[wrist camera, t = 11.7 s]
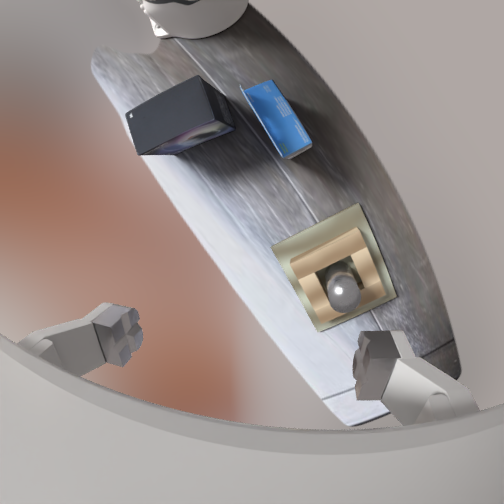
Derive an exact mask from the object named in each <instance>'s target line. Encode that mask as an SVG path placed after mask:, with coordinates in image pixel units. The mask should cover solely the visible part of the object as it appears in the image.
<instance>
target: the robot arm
mask: <svg viewBox="0 0 504 504" xmlns="http://www.w3.org/2000/svg"><path fill="white" fill-rule="evenodd" d="M137 1H138V2H139V3H140V4H141V5H140V7H141V9H142V10H143V11H144V13H145V14H146V15H147V16H148V17H150V20H151V24H152V27H153V31H154V34H155V35H156V36H157V37H158V38H168V37H173V36H176V37H182V38H188V39H196V38H203V37H207V36H211V35H214V34H216V33H219V32H221V31H223V30H225V29H226V28H228V27H230V26H231V25H232V24H234V23H235V22H236V21H237V20H238V19H239V18H240V17H241V16H242V14H243V13H244V11H245V10H246V7H247V4H248V0H137ZM160 27H161V28H160ZM139 319H140V318H139V314H138V311H137V310H136V309H135V308H131V307H126V306H121V305H117V304H112V303H102V304H101V305H100V306H98V307H97V308H96V309H94V310H93V311H92V312H90V313H89V314H88V315H87V316H85V317H84V318H82V319H76V320H73V321H70V322H66V323H63V324H59V325H56V326H52V327H48V328H44V329H41V330H37V331H33V332H32V333H30V334H29V335H28V336H26V337H25V338H24V339H22V340H21V341H20V342H19V343H17V344H16V343H15V342H13V341H11V340H10V339H8V338H7V337H5V336H3V335H2V334H0V504H504V404H501V405H498V406H495V407H491V408H488V409H485V410H481V411H480V410H479V408H478V406H477V404H476V402H475V400H474V398H473V396H472V394H471V392H470V390H469V388H467V387H466V386H464V385H463V384H461V383H459V382H458V381H456V380H455V379H453V378H452V377H450V376H449V375H447V374H445V373H444V372H442V371H441V370H439V369H438V368H436V367H434V366H433V365H431V364H430V363H428V362H427V361H425V360H423V359H422V358H420V357H416V356H415V354H414V352H413V350H412V348H411V346H410V344H409V342H408V340H407V338H406V336H405V334H404V332H403V331H402V330H390V331H361V332H360V334H359V338H358V345H359V349H357V350H356V351H355V354H354V359H353V377H354V378H355V379H356V380H357V381H356V384H355V391H356V397H357V400H381V402H382V403H383V404H384V405H385V406H386V408H387V409H388V410H389V411H390V412H391V413H392V414H393V415H394V416H395V417H396V418H397V420H398V421H399V422H400V423H401V424H402V425H403V426H397V427H386V428H373V429H354V430H313V429H294V428H282V427H271V426H262V425H254V424H246V423H239V422H234V421H227V420H221V419H216V418H211V417H206V416H201V415H197V414H192V413H188V412H184V411H180V410H176V409H172V408H168V407H165V406H161V405H157V404H154V403H151V402H147V401H144V400H141V399H137V398H135V397H131V396H129V395H126V394H123V393H120V392H117V391H114V390H112V389H109V388H106V387H104V386H101V385H99V384H96V383H94V382H92V381H89V380H87V379H84V378H82V377H80V376H82V375H84V374H86V373H88V372H90V371H92V370H94V369H96V368H98V367H100V366H101V365H103V364H105V363H106V362H107V363H110V364H114V365H117V366H121V367H123V366H124V365H125V364H126V363H127V362H128V361H129V360H130V358H131V357H132V356H131V353H132V352H134V351H137V350H138V349H139V348H140V346H141V344H142V341H143V332H142V328H141V327H140V326H139V325H138V321H139Z"/></svg>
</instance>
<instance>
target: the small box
mask: <svg viewBox="0 0 504 504" xmlns="http://www.w3.org/2000/svg"><path fill="white" fill-rule="evenodd" d="M125 116H126V119H127V122H128V126H129V129H130V133H131V136H132V139H133V142H134V145H135V149H136V152H137V155H176V154H178V153H180V152H182V151H184V150H187V149H189V148H191V147H194V146H196V145H198V144H201V143H203V142H206V141H208V140H211V139H213V138H216V137H218V136H221V135H223V134H226V133H228V132H231V131H234V130H235V125H234V122H233V119H232V117H231V114H230V111H229V108H228V106H227V103H226V100H225V97H224V95H223V94H222V93H220V92H219V91H218V90H216V89H215V88H214V87H212V86H211V85H210V84H208V83H207V82H206V81H204V80H203V79H202V78H201V77H200V76H199V75H196V76H194V77H192V78H190V79H188V80H186V81H184V82H181V83H179V84H177V85H175V86H173V87H171V88H169V89H167V90H166V91H164V92H162V93H160V94H158V95H156V96H154V97H153V98H151V99H149V100H147V101H145V102H144V103H142V104H140V105H139V106H137V107H135V108H134V109H132V110H130V111H129V112H127V113H126V114H125Z"/></svg>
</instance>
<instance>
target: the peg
mask: <svg viewBox="0 0 504 504" xmlns="http://www.w3.org/2000/svg"><path fill="white" fill-rule="evenodd" d="M325 279H326V285H327V291H328V297H329V303H330V306H331V307H332V308H333V309H334V310H335V311H337V312H339V313H348V312H351V311H353V310H355V309H356V308H357V307H358V305H359V304H360V302H361V293H360V290H359V287H358V285H357V283H356V280H355V278H354V275H353V273H352V270H351V268H350V266H349V265H348V264H347V263H345V262H343V261H337V262H335V263H333V264H331V265H329V266H328V267H327V268H326V271H325Z"/></svg>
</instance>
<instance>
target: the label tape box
mask: <svg viewBox="0 0 504 504" xmlns="http://www.w3.org/2000/svg"><path fill="white" fill-rule="evenodd" d="M240 88H241V91H242V93H243V95H244V97H245V98H246V100H247V102H248V103H249V105H250V106H251V108H252V110H253V111H254V113H255V114H256V116H257V118H258V119H259V121H260V122H261V124H262V126H263V127H264V129H265V131H266V132H267V134H268V135H269V137H270V139H271V140H272V142H273V144H274V146H275V147H276V149H277V150H278V152H279V154H280V155H281V157H282V158H284V159H291V158H293V157H295V156H297V155H299V154H301V153H302V152H304V151H306V150H308V149H309V148H311V147H312V141H311V139H310V137H309V135H308V134H307V132H306V130H305V129H304V127H303V125H302V124H301V122H300V120H299V119H298V117H297V115H296V114H295V112H294V111H293V109H292V108H291V106H290V104H289V103H288V101H287V100H286V98H285V97H284V95H283V94H282V93H281V91H280V90H279V88H278V87H277V85H276V84H275V82H274V81H273V80H269V81H266V82H264V83H261V84H258V85H256V86H254V87H251V88H249V89H246V90H244V91H243V89H242V87H241V84H240Z"/></svg>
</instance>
